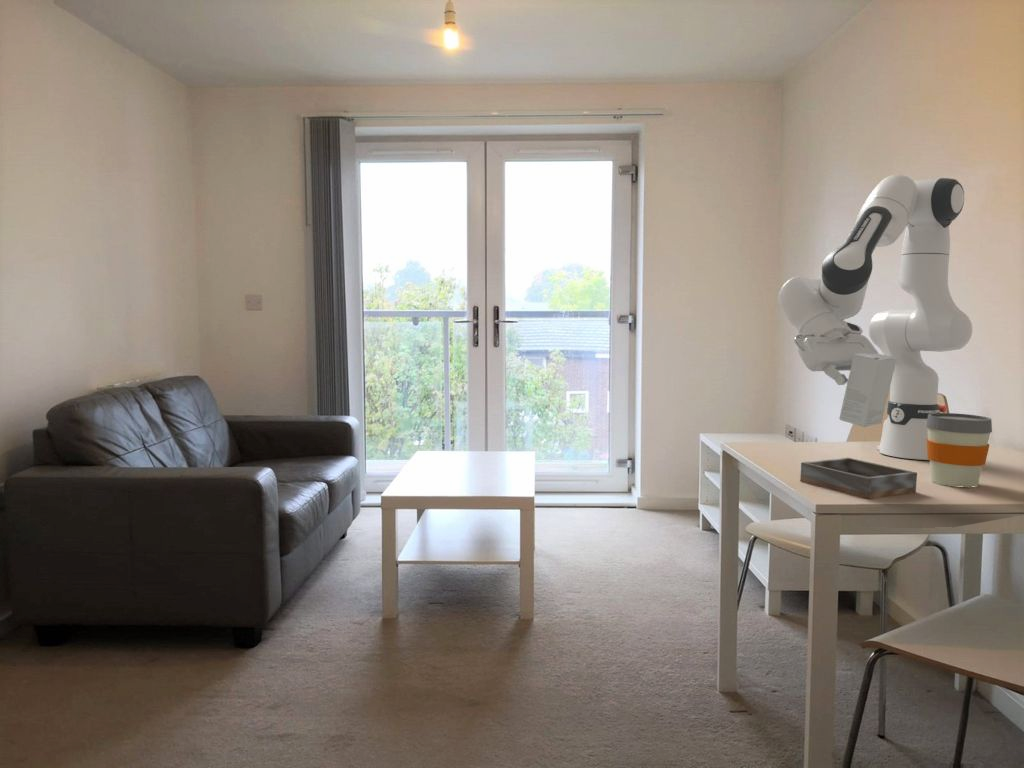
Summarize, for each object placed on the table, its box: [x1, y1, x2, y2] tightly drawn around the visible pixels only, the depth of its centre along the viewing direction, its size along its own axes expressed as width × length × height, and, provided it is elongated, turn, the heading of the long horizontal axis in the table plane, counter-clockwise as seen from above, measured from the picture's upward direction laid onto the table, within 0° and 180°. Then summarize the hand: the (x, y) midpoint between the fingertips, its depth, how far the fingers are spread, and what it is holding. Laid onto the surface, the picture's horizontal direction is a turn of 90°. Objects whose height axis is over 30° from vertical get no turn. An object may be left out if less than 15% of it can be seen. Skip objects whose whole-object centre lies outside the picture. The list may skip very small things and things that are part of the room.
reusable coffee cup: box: [926, 412, 993, 487], centre depth 163 cm, size 13×13×15 cm
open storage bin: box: [800, 457, 918, 500], centre depth 158 cm, size 15×17×4 cm
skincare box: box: [838, 352, 897, 428], centre depth 155 cm, size 8×6×15 cm
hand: (859, 382), depth 157 cm, fingers closed on skincare box, 8 cm apart
